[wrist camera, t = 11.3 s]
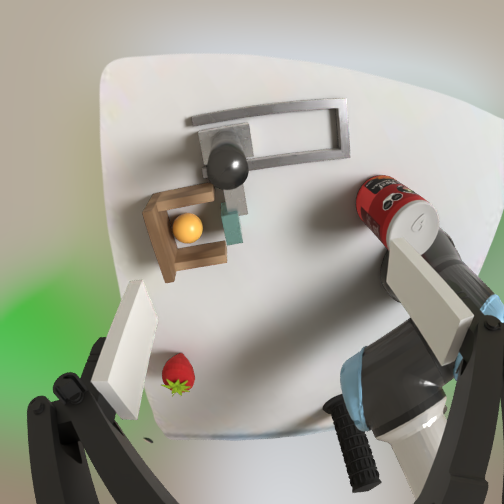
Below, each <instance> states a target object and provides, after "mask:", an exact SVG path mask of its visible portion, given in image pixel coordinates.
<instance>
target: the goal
mask: <svg viewBox="0 0 504 504" xmlns="http://www.w3.org/2000/svg"><path fill="white" fill-rule="evenodd" d="M214 196H215V188H214V185H213V184H212V183H211V182H209V183H204V184H199V185H193V186H188V187H183V188H178V189H174V190H169V191H164V192H159V193H155V194H153V195H152V197H151V199H150V200H149V202H148V204H147V205H146V207H145V209H144V210H143V212H142V214H143V217H144V221H145V224H146V227H147V230H148V233H149V237H150V240H151V243H152V246H153V249H154V252H155V255H156V258H157V261H158V263H159V266H160V269H161V272H162V275H163V278H164V281H165V283H170V282H174V280H175V276H176V271H180V270H186V269H192V268H198V267H204V266H210V265H216V264H222V263H227V247H226V242H225V241H219V242H214V243H208V244H202V245H196V246H191V247H185V248H179V249H177V245H176V242H175V238H174V235H173V231H172V228H171V224H170V221H169V217H168V213H167V210H170V209H175V208H180V207H185V206H190V205H195V204H200V203H206V202H211V201H214Z"/></svg>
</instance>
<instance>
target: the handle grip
mask: <svg viewBox="0 0 504 504" xmlns="http://www.w3.org/2000/svg"><path fill="white" fill-rule="evenodd" d="M323 410H324V411H325V412H326V413H328V414H332V415H331V416H332V419H333V421H334V422H333V423H334V425H335V430H336V432H337V433H336V434H337V435H338V440H339V442H340V446H341V451H342V453H343V457H344V462H345V464H346V467H347V473H348V475H349V479H350V484H351V486H352V487H353V489H352V492H353V493H356V492H364V491H369V490H371V489H373V488H374V487H376V486H377V485H379V484H380V483H381V481H380V479H379V472H378V471H377V470H376V469H377V467H376V464H375V460H374V459H373V455H372V451H371V449H370V446H369V444H368V439H367V437H366V434H365V431H361V430H359V429H358V428H357V427H356V425H355V423H354V420H352V419H351V417H350V415H349V413H348V410H347V407H346V404H345V401H344V398H343V394H341V395H338V396H336V397H334V398H332V399H330V400H329V401H327V402H326V403H325V405H324V406H323Z"/></svg>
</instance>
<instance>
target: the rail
mask: <svg viewBox="0 0 504 504" xmlns="http://www.w3.org/2000/svg"><path fill="white" fill-rule="evenodd" d="M329 108H335V110H336V122H337V135H338V148H333V149H323V150H314V151H305V152H296V153H288V154H281V155H273V156H266V157H260V158H253V159H247V163H248V168H249V171H250V170H256V169H263V168H270V167H277V166H284V165H291V164H299V163H307V162H315V161H324V160H334V159H344V158H350V141H349V125H348V111H347V100H346V98H333V99H315V100H302V101H291V102H281V103H272V104H263V105H256V106H248V107H242V108H235V109H229V110H223V111H217V112H212V113H206V114H201V115H196V116H192V123H193V126H198V125H203V124H208V123H214V122H219V121H225V120H231V119H237V118H244V117H251V116H258V115H265V114H273V113H282V112H291V111H302V110H314V109H329ZM202 173H203V178H208V176H207V166H206V167H202Z"/></svg>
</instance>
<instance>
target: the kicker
mask: <svg viewBox="0 0 504 504" xmlns="http://www.w3.org/2000/svg"><path fill="white" fill-rule="evenodd" d="M198 136H199V141H200V146H201V151H202V156H203V161H204V165H206V164H207V176H208V179H209V181H210V182H211V183H212V184H213V185H214V186H215V187H217V188H219V189H223V190H224V196H225V201H226V202H225V203H221V218H222V223H223V228H224V233H225V238H226V242H227V245H232V244H238V243H243V239H242V232H241V225H240V219H239V216H241V215H247V214H248V211H247V205H246V199H245V192H244V186H243V183H244V182H245V180H246V178H247V176H248V172H249V168H248V163H247V160H246V158H247V157H253V156H254V155H253V148H252V141H251V134H250V128H249V124H248V123H241V124H235V125H229V126H223V127H217V128H212V129H207V130H201V131H199V132H198Z"/></svg>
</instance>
